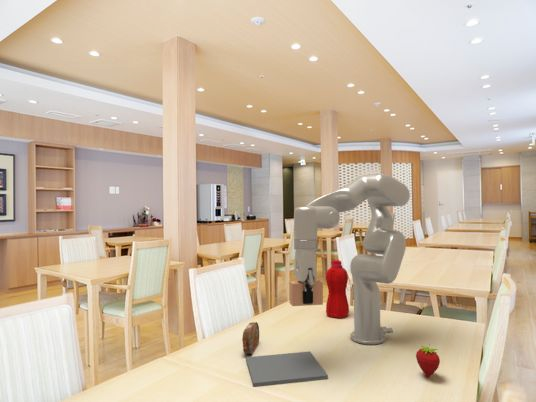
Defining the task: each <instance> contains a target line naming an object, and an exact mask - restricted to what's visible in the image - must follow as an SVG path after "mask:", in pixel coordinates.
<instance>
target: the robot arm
mask: <svg viewBox="0 0 536 402" xmlns="http://www.w3.org/2000/svg"><path fill="white" fill-rule="evenodd" d="M410 194H411V193H410V190H409V188H408V186H407V185H406V184H405V183H403V182H402V181H400V180H398V179H396V178H394V177H392V176H391V175H389V174H385V173H371V174H362V175H359V176H358V177H356V178H354V179H353V180H352V181H350V182H349V183H347V184H346V185H344V186H343V187H342V188H340V189H337V190H335V191H332V192H330V193H327V194H324V195H322V196H320V197H318V198H315V199H314V200H312V201H311V202H309V203H308V204H306V205H305V206H298V207H296V208H295V209H294V211H293V250H295V252H294V265H293V266H294V269H293V270H294V271H293V275H294V278H296V280H298V281H301V282H303V284H304V291H303V304H312V303H313V285H314V281H315V280H317V259H316V251H317V250H318V229H321V230H322V229H324V230H325V229H326V230H329V229H333V228H335V227H336V226H337V225H338V224H339V223H340V219H341V217H340V213H345V212H349V211H353V210H354V209H356V208H357V207H358V206H360V205H361V204H362V203H363V202H365V201H367V202H368V203H367V204H368V205H369V206H368V207H369V209H370V213H371V214H370V215H371V217H370V218H371V219H370V221H369V224H368V227H367V230H366V233H365V234H364V238H363V242H362V245H363V246H362V248H363V249H364V250H365V252H367V253H361V254H357V255H355V256H353V258H352V259H351V261H350V265H349V266H350V267H349V268H350V274H351V278H352V285H353V322H354V323H353V325H354V326H353V327H354V331H352V332H351V333H350V336H349V337H350V339H351V340H352V341H353V342H354V343H358V344H362V345H379V344H382V343H384V342H385V341H386V336H385V335H386V334H393V333H394V329H393V327H387V326H382V325H381V291H380V288H379V285H378V284H377V283H380V284H385V285H386V284H391V283H393V282H394V281H395V280H396V279H397V276H398V274H399V272H400V267H401V265H402V262H403V258H404V256H405V254H406V249H407V248H406V247H407V240H406V237H405V235H404V234H403V233H402V232H401V231H399V230H396V229H392V228H393V226H394V218H393V215H392V213H391V211H390V210H389V208H388V207H403V206H405V205H406V204H408V202H409V200H410V198H411V195H410ZM368 253H369V254H368ZM382 255H383V256H382ZM306 283H308V284H307V285H306Z"/></svg>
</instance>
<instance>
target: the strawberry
mask: <svg viewBox="0 0 536 402" xmlns="http://www.w3.org/2000/svg"><path fill="white" fill-rule="evenodd" d="M430 345H431V343H429V345H428V346H422V345H421V348H419V349H418V350H417V351H416V353H415V358H416V363H417V364H418V366H419V368H420V370H421V371H422V372H423V374H424V376H426V377H427V378H430V377H431V376H432V375H433V374H434V373H435V372H436V371H437V370H438V369H439V368H440V362H441V359H440V356H439V355H438V352H437V351H438V350H439V349H437V348H430Z"/></svg>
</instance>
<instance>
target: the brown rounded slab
mask: <svg viewBox="0 0 536 402" xmlns="http://www.w3.org/2000/svg"><path fill="white" fill-rule="evenodd" d="M241 339H242V340H241V341H242V349H243V353H244V354H245V355H254V353H255V351H256V349H257V348H258V346H259V343H260V326H259V323H258V322H257V321H255V322H254V321H252V322H249V323H248V324H247V325H246V327H245V329H244V330H243V332H242V338H241Z"/></svg>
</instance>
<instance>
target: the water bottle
mask: <svg viewBox="0 0 536 402" xmlns="http://www.w3.org/2000/svg"><path fill="white" fill-rule="evenodd" d="M330 264H331V267H329V268H328V269H327V271H326V273H325V281H326V286H327V289H328V290H327V291H328V295H327V301H326V304H325V305H326V306H325V313H326V316H328V317H329V318H335V319H344V318H345V317H347V316H349V312H350V309H349V308H350V305H349V301H348V297H347V291H349V292H350V289H351V288H352V287H351V284H349V289H348V285H347V284H348V281H349V283H351V280H350V277H349V274H348V271H347V270H346V269H345V268H344V267H343V265H342V260H339V259H334V260H331V262H330Z"/></svg>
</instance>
